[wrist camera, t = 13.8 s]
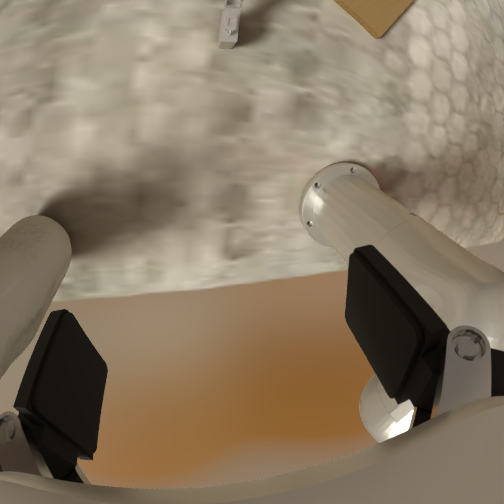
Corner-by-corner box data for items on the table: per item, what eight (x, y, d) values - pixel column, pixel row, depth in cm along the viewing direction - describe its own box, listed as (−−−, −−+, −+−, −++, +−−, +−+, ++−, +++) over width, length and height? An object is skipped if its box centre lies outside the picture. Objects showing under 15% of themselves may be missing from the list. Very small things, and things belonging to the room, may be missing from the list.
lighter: (232, 49, 27) (242, 35, 21) (217, 48, 27) (222, 33, 20) (238, -2, 24) (249, -26, 17) (223, -3, 24) (230, -28, 17)
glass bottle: (78, 206, 33) (-37, 378, 9) (81, 271, 38) (16, 444, 14) (21, 200, 31) (-104, 338, 7) (28, 262, 35) (-54, 410, 11)
